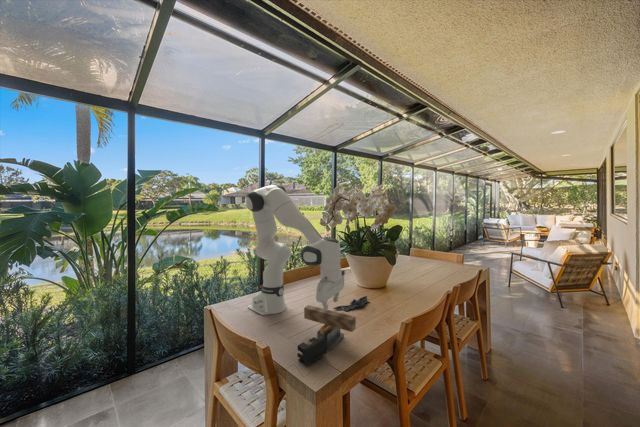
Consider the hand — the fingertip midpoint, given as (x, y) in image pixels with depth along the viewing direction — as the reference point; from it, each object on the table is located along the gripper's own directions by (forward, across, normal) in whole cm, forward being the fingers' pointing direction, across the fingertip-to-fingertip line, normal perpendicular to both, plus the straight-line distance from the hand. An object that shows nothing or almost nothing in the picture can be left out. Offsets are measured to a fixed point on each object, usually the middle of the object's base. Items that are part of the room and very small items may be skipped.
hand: (330, 305), depth 114 cm
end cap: (+16, -16, 0) cm, 23 cm away
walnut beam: (+8, -1, 0) cm, 8 cm away
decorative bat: (+17, +40, +4) cm, 44 cm away
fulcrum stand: (+16, -1, 0) cm, 16 cm away
